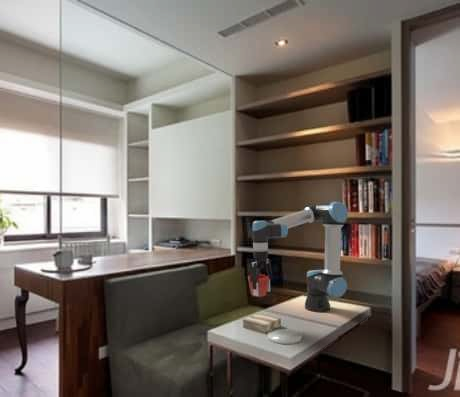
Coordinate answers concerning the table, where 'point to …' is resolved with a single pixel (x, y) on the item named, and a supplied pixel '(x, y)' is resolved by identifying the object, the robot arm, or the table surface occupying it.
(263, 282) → the flower pot
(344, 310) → the table surface
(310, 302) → the robot arm
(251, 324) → the stand
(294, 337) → the pale grey round plate
